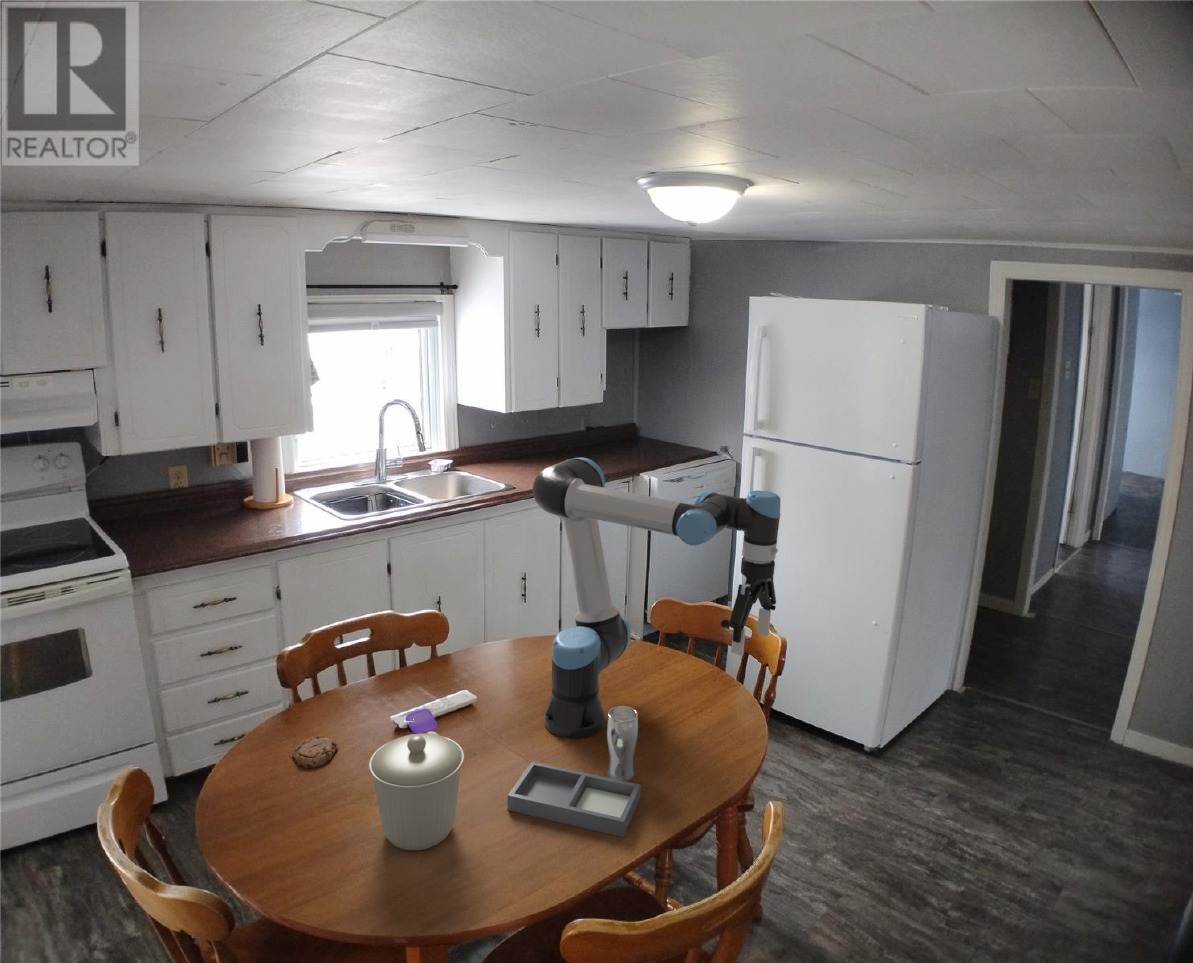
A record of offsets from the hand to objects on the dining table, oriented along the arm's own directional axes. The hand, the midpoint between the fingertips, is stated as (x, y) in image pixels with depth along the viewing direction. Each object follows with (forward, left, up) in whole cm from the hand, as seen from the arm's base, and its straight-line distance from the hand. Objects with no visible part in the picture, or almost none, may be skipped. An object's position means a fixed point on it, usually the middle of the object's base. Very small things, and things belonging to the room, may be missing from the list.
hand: (750, 643), depth 189 cm
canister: (-56, -56, -26) cm, 84 cm away
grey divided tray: (-30, -37, -25) cm, 54 cm away
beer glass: (-24, -23, -26) cm, 42 cm away
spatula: (-70, -26, -26) cm, 79 cm away
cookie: (-92, -40, -26) cm, 104 cm away
